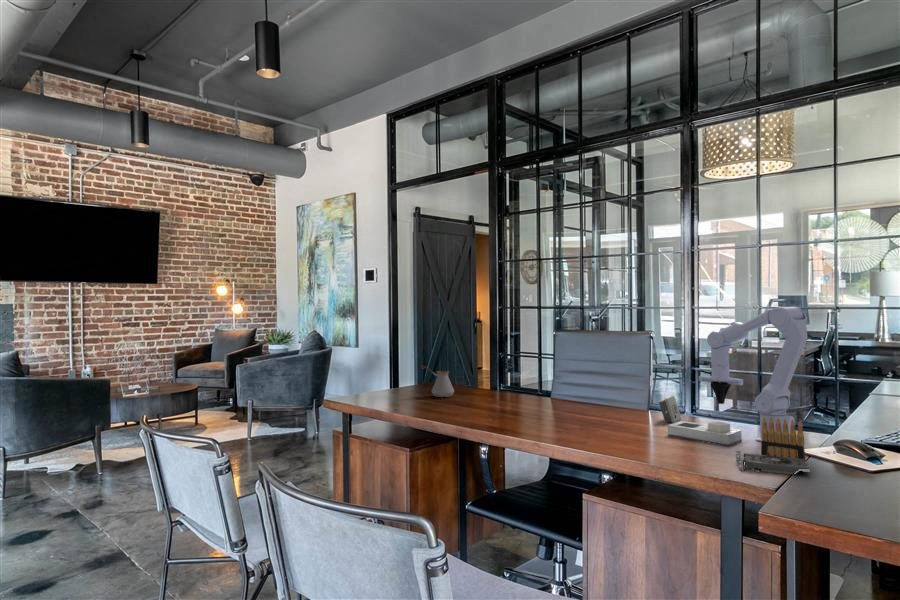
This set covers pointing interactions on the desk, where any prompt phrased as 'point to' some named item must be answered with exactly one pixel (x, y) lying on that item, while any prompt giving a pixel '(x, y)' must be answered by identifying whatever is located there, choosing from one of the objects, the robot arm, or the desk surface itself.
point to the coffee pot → (441, 384)
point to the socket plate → (703, 433)
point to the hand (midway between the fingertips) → (721, 403)
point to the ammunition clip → (782, 440)
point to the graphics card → (770, 463)
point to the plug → (719, 427)
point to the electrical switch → (670, 410)
